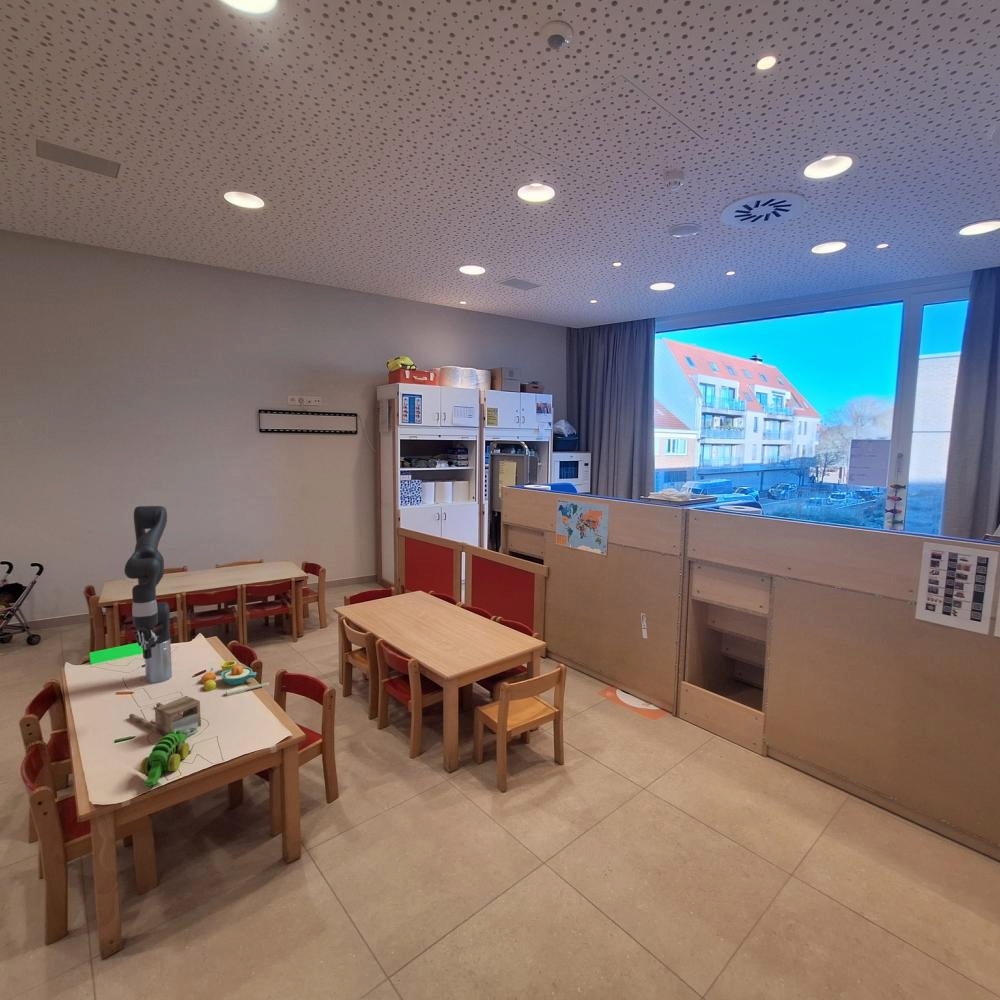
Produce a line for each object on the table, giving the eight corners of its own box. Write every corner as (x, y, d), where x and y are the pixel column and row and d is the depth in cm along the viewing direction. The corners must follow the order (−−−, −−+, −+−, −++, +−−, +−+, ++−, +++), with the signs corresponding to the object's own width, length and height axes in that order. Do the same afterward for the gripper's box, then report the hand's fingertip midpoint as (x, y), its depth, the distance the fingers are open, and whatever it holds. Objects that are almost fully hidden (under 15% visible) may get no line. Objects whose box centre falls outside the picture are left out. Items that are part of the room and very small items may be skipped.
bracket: (142, 659, 253) (140, 644, 254) (144, 657, 246) (143, 641, 247) (89, 671, 239) (88, 655, 241) (91, 668, 232) (89, 652, 234)
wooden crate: (129, 720, 192) (128, 696, 191) (159, 707, 201) (158, 684, 200) (171, 739, 180) (169, 713, 179) (200, 725, 189) (199, 701, 188)
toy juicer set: (190, 686, 220) (189, 668, 219) (231, 670, 236) (231, 654, 235) (228, 704, 205) (227, 685, 204) (270, 687, 220) (269, 669, 219)
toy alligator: (207, 729, 187) (205, 706, 186) (165, 787, 155) (163, 759, 154) (178, 732, 185) (176, 708, 184) (130, 790, 154) (128, 762, 153)
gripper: (123, 612, 190) (126, 658, 192) (144, 618, 184) (146, 665, 186) (145, 606, 197) (148, 651, 199) (166, 612, 190) (168, 658, 192)
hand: (147, 658), depth 192 cm, fingers closed
